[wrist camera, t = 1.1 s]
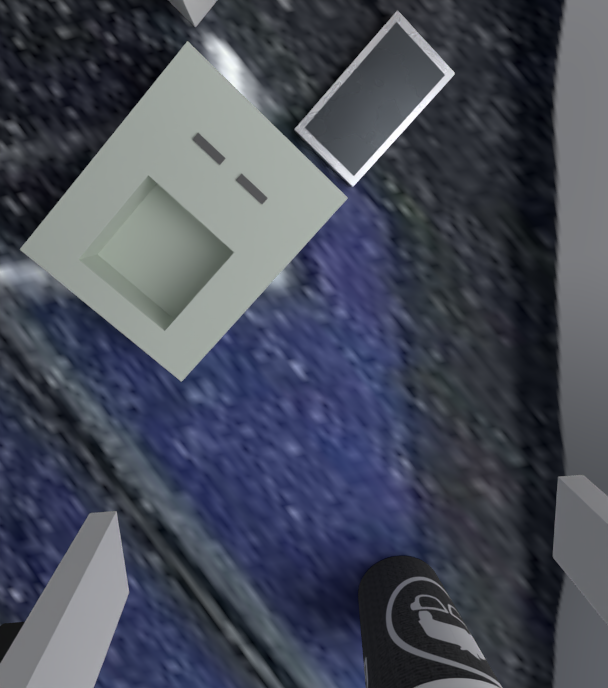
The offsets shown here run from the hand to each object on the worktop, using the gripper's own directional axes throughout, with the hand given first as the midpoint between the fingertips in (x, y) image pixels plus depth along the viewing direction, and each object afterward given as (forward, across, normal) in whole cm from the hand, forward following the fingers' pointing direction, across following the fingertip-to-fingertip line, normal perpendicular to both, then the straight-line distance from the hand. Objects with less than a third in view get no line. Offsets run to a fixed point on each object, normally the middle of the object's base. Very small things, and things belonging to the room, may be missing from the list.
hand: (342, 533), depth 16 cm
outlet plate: (+22, -7, +9) cm, 25 cm away
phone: (+22, +5, +15) cm, 28 cm away
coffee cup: (+22, +6, -20) cm, 31 cm away
